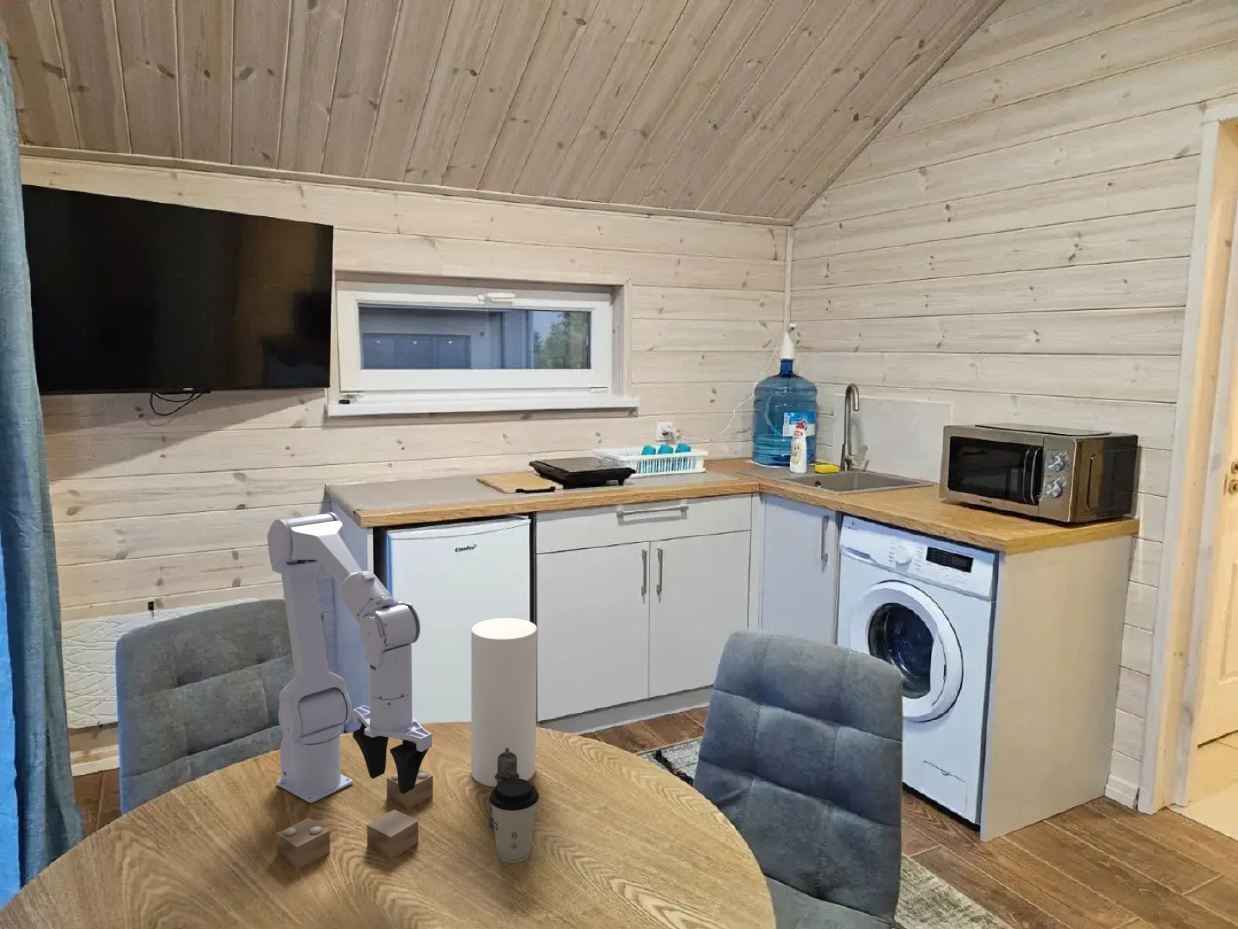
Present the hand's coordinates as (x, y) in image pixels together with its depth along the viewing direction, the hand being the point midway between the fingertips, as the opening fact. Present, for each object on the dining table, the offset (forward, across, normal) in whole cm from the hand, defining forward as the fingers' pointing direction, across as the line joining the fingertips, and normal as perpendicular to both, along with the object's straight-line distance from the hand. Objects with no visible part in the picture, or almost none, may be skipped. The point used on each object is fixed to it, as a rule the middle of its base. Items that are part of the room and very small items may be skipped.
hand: (392, 782), depth 118 cm
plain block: (+10, 0, 0) cm, 10 cm away
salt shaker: (+10, +9, +14) cm, 19 cm away
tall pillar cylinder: (+10, -2, +25) cm, 27 cm away
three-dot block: (+10, -8, +10) cm, 16 cm away
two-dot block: (+10, -8, -9) cm, 15 cm away
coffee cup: (+10, +15, +9) cm, 20 cm away
